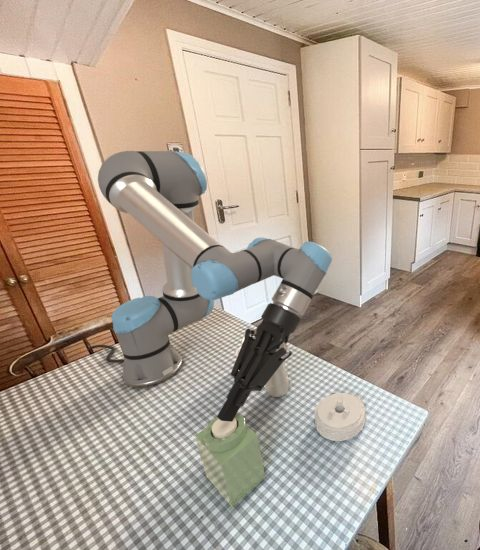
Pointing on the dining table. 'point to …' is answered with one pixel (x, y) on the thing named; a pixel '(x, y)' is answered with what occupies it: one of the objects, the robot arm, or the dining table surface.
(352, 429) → the lid
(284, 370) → the plastic bottle
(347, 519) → the dining table surface
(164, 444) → the dining table surface
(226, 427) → the beige short cylinder
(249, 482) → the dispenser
